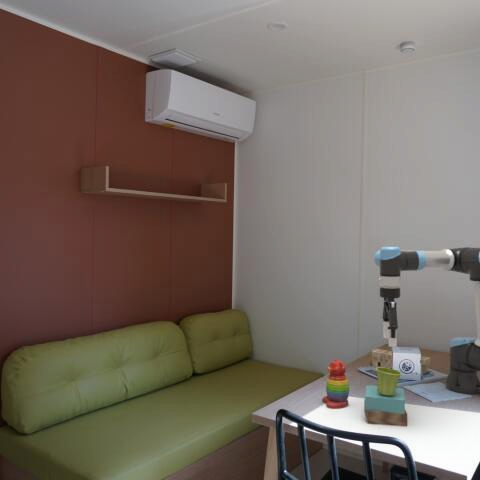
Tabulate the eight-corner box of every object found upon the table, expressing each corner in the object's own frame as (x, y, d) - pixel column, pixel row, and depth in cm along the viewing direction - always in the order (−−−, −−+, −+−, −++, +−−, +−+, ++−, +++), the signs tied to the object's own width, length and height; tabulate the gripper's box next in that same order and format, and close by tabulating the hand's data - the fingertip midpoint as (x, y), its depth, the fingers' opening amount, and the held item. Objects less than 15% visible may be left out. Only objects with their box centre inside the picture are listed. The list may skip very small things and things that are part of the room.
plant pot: (399, 393, 189) (402, 370, 189) (398, 399, 180) (401, 376, 180) (374, 387, 193) (377, 365, 193) (372, 393, 184) (375, 370, 184)
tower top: (403, 401, 194) (403, 388, 194) (404, 414, 180) (404, 400, 180) (366, 397, 198) (366, 385, 198) (364, 409, 184) (365, 396, 184)
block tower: (369, 367, 262) (424, 376, 243) (369, 351, 262) (424, 359, 243) (376, 363, 268) (430, 372, 249) (376, 348, 268) (430, 356, 249)
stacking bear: (321, 399, 208) (321, 357, 208) (344, 399, 209) (345, 357, 208) (327, 409, 197) (328, 364, 197) (352, 408, 198) (353, 364, 198)
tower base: (400, 413, 194) (401, 400, 194) (407, 427, 180) (407, 414, 180) (364, 411, 196) (364, 398, 196) (367, 424, 183) (367, 411, 183)
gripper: (375, 283, 202) (375, 334, 203) (384, 291, 177) (384, 349, 178) (394, 283, 201) (394, 335, 202) (406, 291, 176) (406, 350, 177)
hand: (389, 342), depth 190 cm, fingers open, 13 cm apart
